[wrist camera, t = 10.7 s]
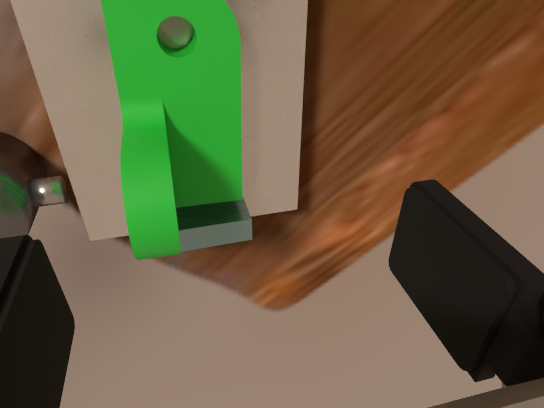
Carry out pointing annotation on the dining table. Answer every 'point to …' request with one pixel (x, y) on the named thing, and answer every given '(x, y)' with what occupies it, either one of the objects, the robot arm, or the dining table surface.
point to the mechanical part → (175, 115)
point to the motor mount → (109, 126)
